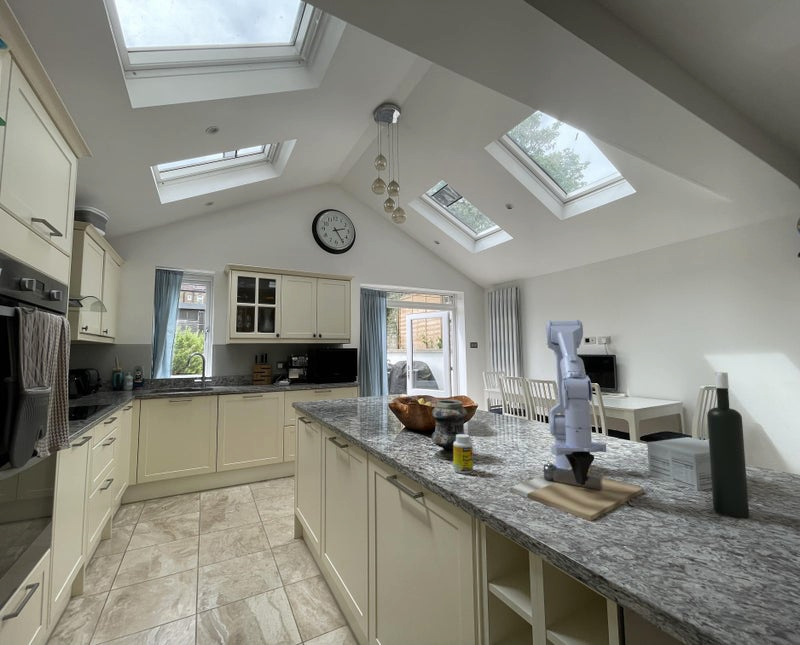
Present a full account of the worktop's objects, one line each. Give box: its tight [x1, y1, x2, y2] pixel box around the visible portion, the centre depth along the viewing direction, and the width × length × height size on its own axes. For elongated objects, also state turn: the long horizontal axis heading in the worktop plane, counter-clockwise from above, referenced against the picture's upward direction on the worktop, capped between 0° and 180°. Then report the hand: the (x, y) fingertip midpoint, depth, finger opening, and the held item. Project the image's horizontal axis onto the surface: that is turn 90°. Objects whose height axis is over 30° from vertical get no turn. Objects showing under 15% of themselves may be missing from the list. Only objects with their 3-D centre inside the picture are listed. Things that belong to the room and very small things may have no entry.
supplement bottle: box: [453, 433, 474, 475], centre depth 108 cm, size 6×6×10 cm
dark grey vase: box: [431, 399, 468, 461], centre depth 125 cm, size 12×12×18 cm
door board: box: [509, 467, 645, 522], centre depth 92 cm, size 26×20×4 cm
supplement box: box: [646, 436, 712, 492], centre depth 101 cm, size 17×13×9 cm
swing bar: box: [543, 462, 603, 490], centre depth 94 cm, size 14×3×4 cm, turn 52°
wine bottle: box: [706, 371, 750, 520], centre depth 81 cm, size 6×6×30 cm
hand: (580, 483), depth 91 cm, fingers closed
